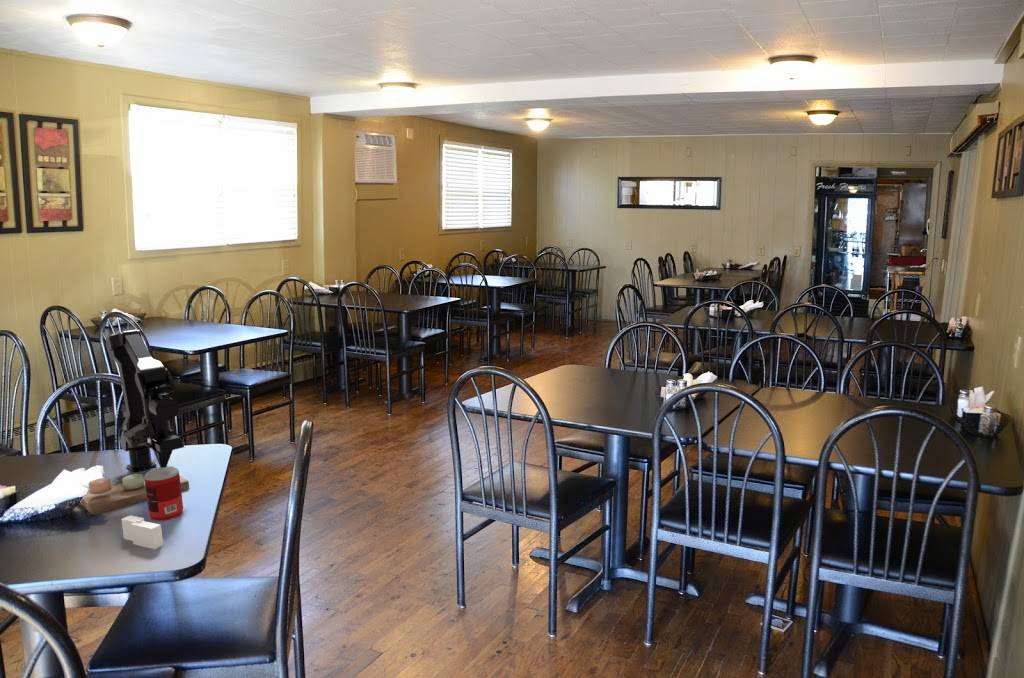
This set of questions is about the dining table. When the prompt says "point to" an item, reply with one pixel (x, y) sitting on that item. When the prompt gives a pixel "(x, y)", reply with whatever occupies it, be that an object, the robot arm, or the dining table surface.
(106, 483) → the button terracotta
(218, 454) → the dining table surface
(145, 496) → the panel
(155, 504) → the canned food
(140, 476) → the button sage
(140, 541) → the white stepped block
